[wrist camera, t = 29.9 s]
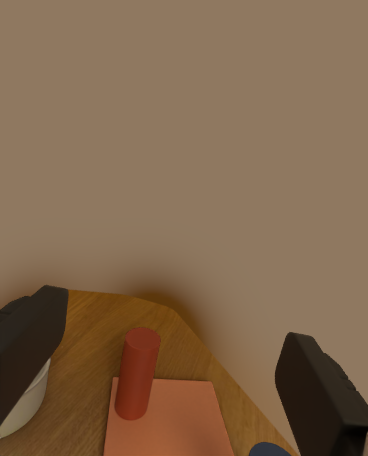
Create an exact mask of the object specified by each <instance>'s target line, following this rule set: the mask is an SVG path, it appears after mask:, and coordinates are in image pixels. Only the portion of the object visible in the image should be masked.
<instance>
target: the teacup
mask: <svg viewBox="0 0 368 456" xmlns="http://www.w3.org/2000/svg"><path fill="white" fill-rule="evenodd" d="M50 361H51V357H50V358H49V360H48V361H47V362H46V364H45V365H44V366H43V368H42V369H41V371H40V372H39V373H38V375H37V376H36V378H35V379H34V380H33V382H32V383H31V384H30V386H29V387H28V389H27V390H26V391H25V393H24V394H23V395H22V397H21V398H20V400H19V401H18V402H17V404H16V405H15V407H14V408H13V409H12V411H11V412H10V413H9V415H8V416H7V418H6V419H5V420H4V422H3V423H2V424H1V426H0V438H3V437H5V436H8V435H10V434H12V433H13V432H15V431H17V430H18V429H20V428H21V427H22V426H24V425H25V424H26V423H27V422H28V421H29V420H30V419H31V418H32V417H33V416H34V415H35V413H36V412H37V410H38V409H39V407H40V405H41V404H42V401H43V399H44V395H45V392H46V387H47V379H48V370H49V367H50Z"/></svg>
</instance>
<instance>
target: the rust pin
mask: <svg viewBox="0 0 368 456" xmlns="http://www.w3.org/2000/svg"><path fill="white" fill-rule="evenodd" d="M160 341H161V339H160V336H159V335H158V334H157V333H156V332H155V331H153V330H151V329H148V328H143V327H139V328H134V329H131V330H130V331H128V332H127V334H126V336H125V342H124V348H123V354H122V361H121V367H120V373H119V379H118V385H117V392H116V398H115V404H114V408H115V411H116V413H117V415H118V416H119V417H121V418H123V419H125V420H137V419H139V418H141V417H142V416H143V415H144V414H145V413H146V411H147V408H148V403H149V397H150V392H151V387H152V382H153V377H154V372H155V367H156V362H157V357H158V352H159V347H160Z"/></svg>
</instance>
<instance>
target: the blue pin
mask: <svg viewBox="0 0 368 456" xmlns="http://www.w3.org/2000/svg"><path fill="white" fill-rule="evenodd" d="M249 456H291V455H290V454H289V453H288V452H287V451H285V450H284V449H283V448H281V447H279V446H278V445H275V444H272V443H268V442H261V443H258V444H256V445H255V446H253V447H252V449H251V451H250V453H249Z"/></svg>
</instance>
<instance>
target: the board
mask: <svg viewBox="0 0 368 456" xmlns="http://www.w3.org/2000/svg"><path fill="white" fill-rule="evenodd" d="M118 379H119V377H113V382H112V389H111V397H110V405H109V413H108V421H107V429H106V436H105V444H104V452H103V456H234V454H233V451H232V448H231V444H230V441H229V438H228V434H227V431H226V427H225V424H224V421H223V417H222V414H221V411H220V407H219V404H218V401H217V397H216V394H215V391H214V387H213V384H212V382H210V381H189V380H168V379H153V382H152V387H151V392H150V397H149V403H148V408H147V411H146V413H145V414H144V415H143V416H142V417H141V418H139V419H137V420H125V419H123V418H121V417H119V416H118V415H117V413H116V411H115V408H114V404H115V398H116V392H117V385H118Z"/></svg>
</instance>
